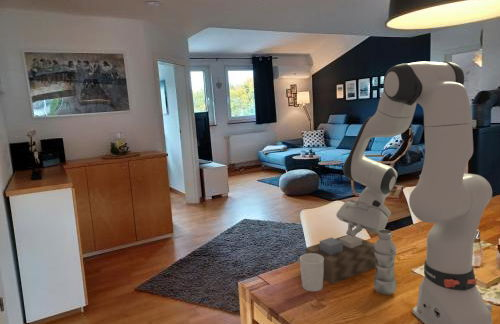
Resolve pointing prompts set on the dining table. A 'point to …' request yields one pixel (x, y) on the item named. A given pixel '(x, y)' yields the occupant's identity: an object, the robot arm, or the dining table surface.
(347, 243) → the light beige square block
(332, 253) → the blue-grey square block
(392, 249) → the plastic bottle
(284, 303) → the dining table surface
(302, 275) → the white cup
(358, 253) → the brown rectangular block
